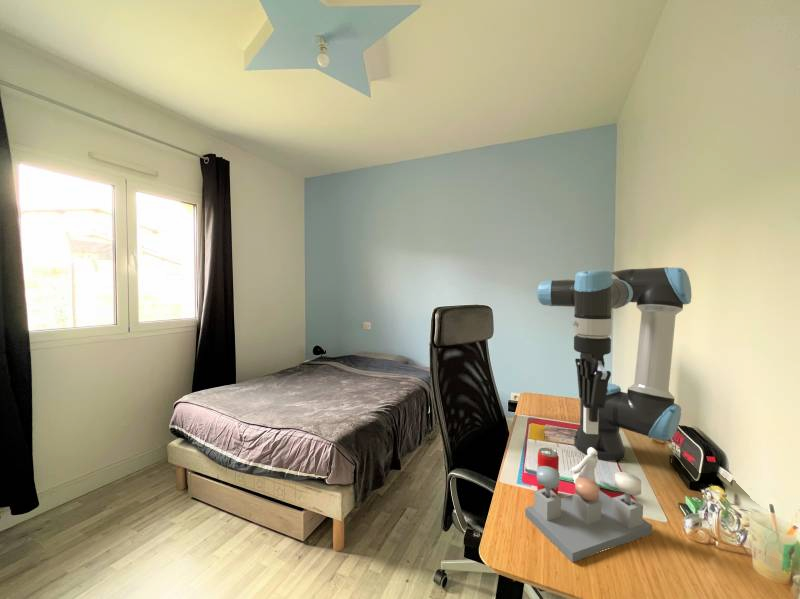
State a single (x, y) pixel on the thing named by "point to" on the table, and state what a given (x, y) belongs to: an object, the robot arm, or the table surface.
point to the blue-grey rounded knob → (548, 478)
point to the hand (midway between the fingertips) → (590, 432)
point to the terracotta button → (587, 489)
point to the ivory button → (628, 485)
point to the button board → (587, 522)
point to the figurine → (586, 466)
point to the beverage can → (548, 463)
